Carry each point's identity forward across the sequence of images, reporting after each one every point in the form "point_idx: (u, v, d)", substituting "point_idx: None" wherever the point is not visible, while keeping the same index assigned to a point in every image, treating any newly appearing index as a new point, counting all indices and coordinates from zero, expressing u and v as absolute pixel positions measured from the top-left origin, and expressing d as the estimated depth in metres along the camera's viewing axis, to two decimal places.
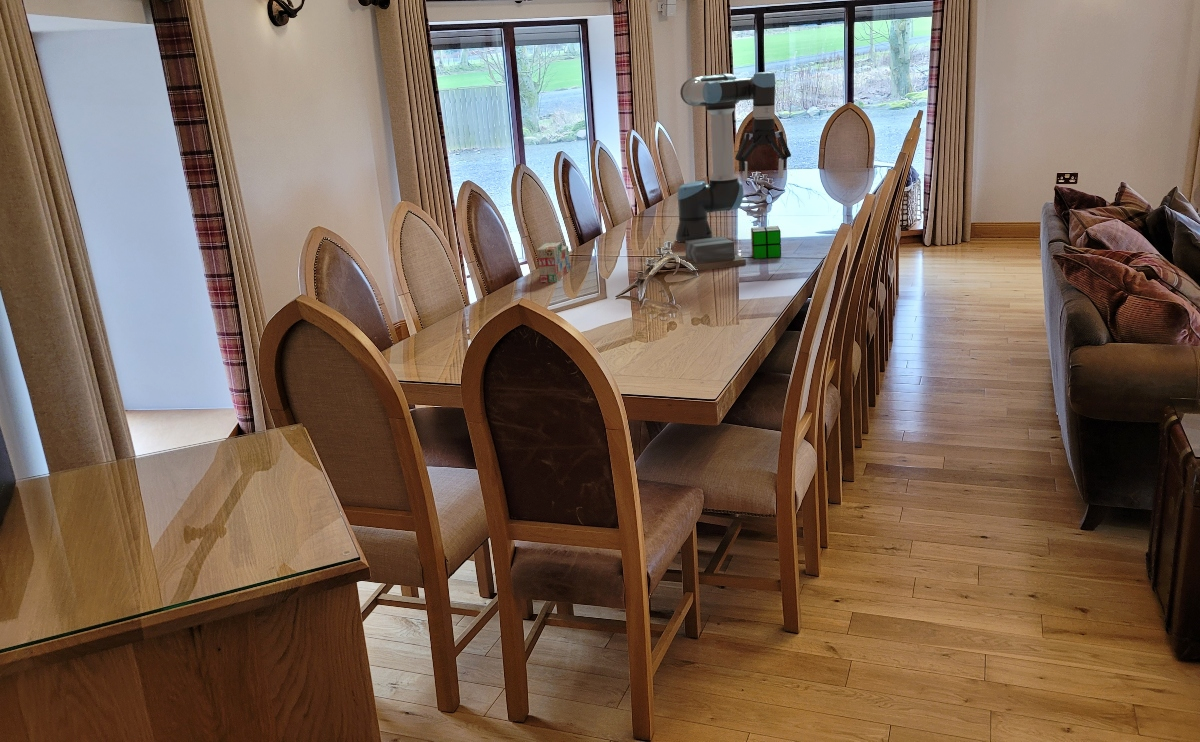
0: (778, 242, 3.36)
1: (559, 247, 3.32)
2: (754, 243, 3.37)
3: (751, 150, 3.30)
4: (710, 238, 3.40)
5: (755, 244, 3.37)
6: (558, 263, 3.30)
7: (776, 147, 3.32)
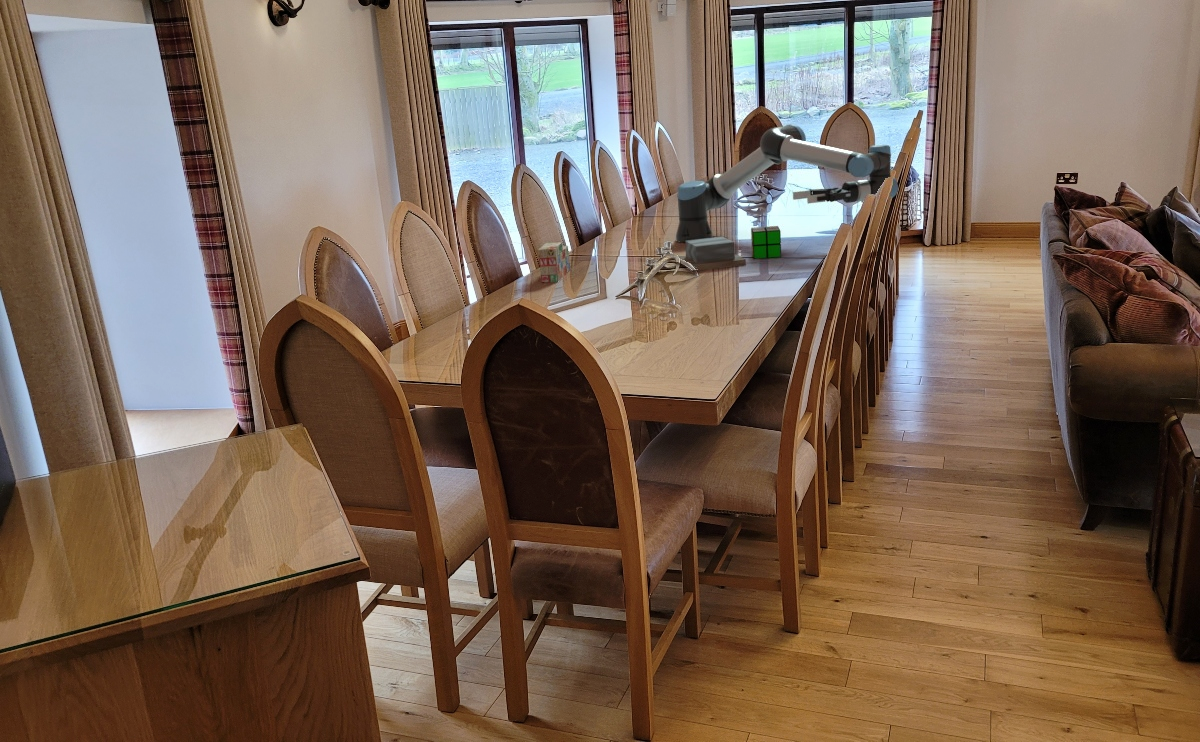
0: (778, 242, 3.36)
1: (560, 247, 3.32)
2: (754, 243, 3.37)
3: None
4: (710, 238, 3.40)
5: (755, 244, 3.37)
6: (559, 263, 3.30)
7: None
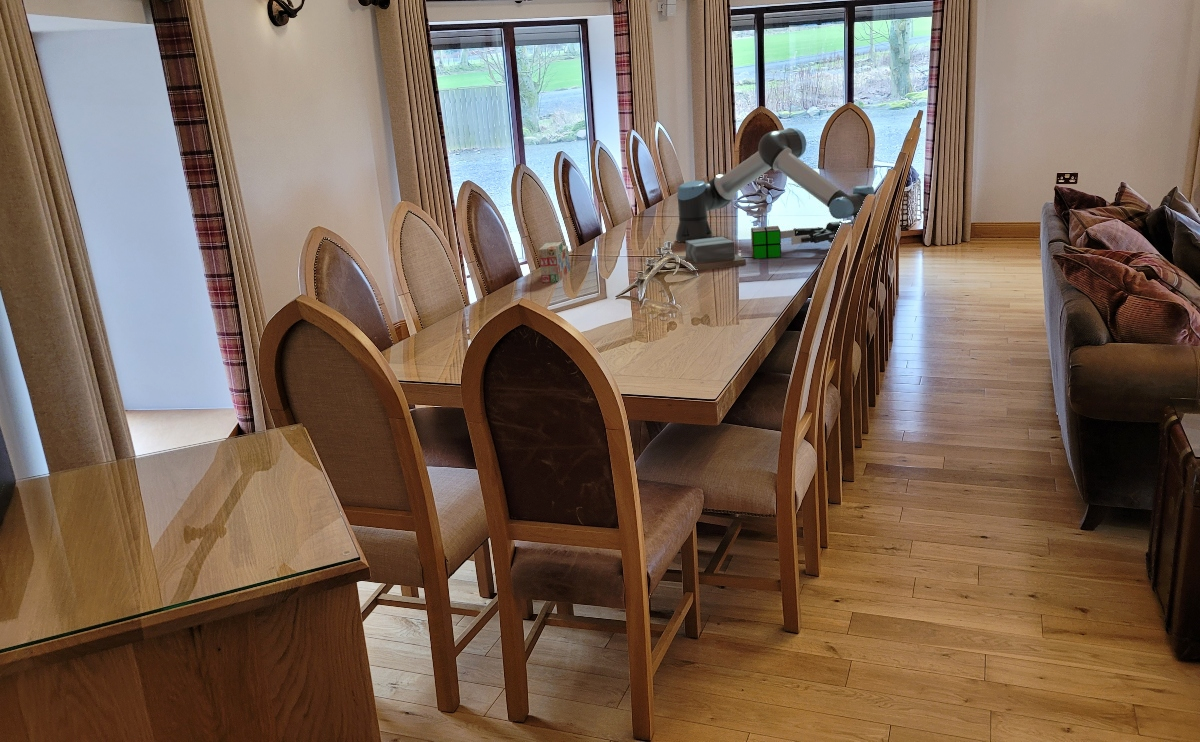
0: (778, 242, 3.36)
1: (560, 247, 3.32)
2: (754, 243, 3.37)
3: None
4: (710, 238, 3.40)
5: (755, 244, 3.37)
6: (559, 263, 3.30)
7: None
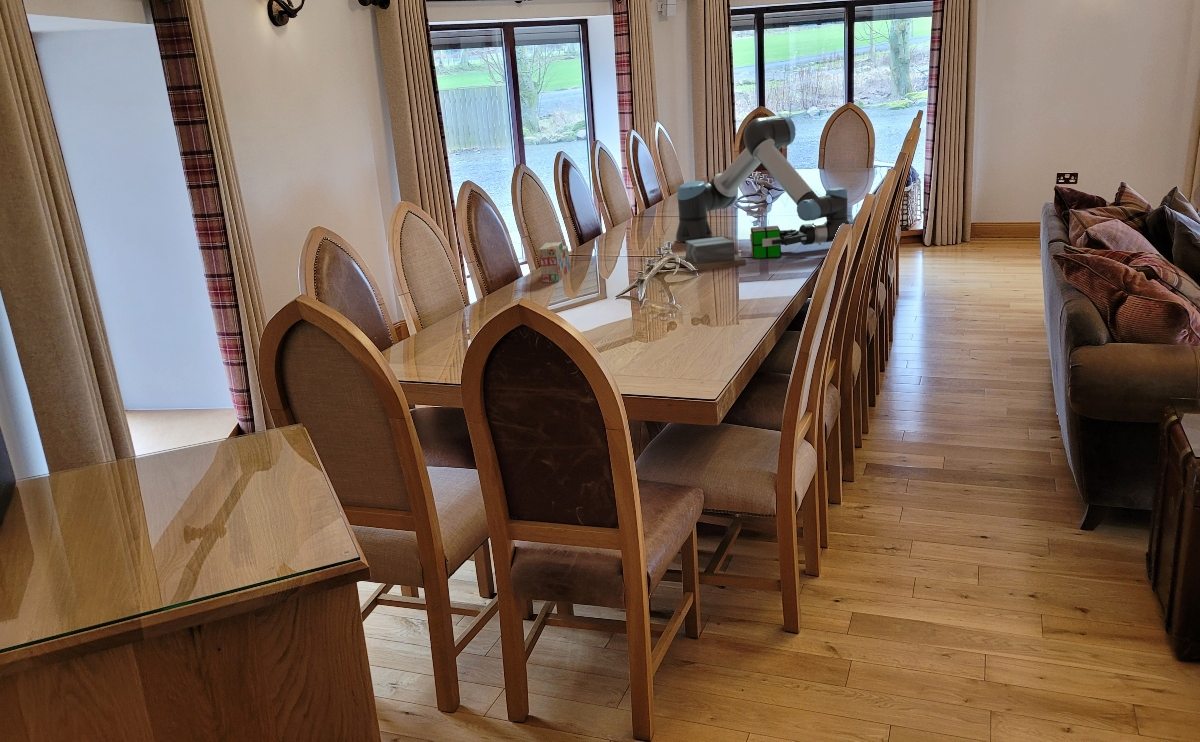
0: None
1: (560, 247, 3.33)
2: (754, 243, 3.37)
3: None
4: (710, 238, 3.40)
5: (755, 244, 3.37)
6: (560, 262, 3.31)
7: None
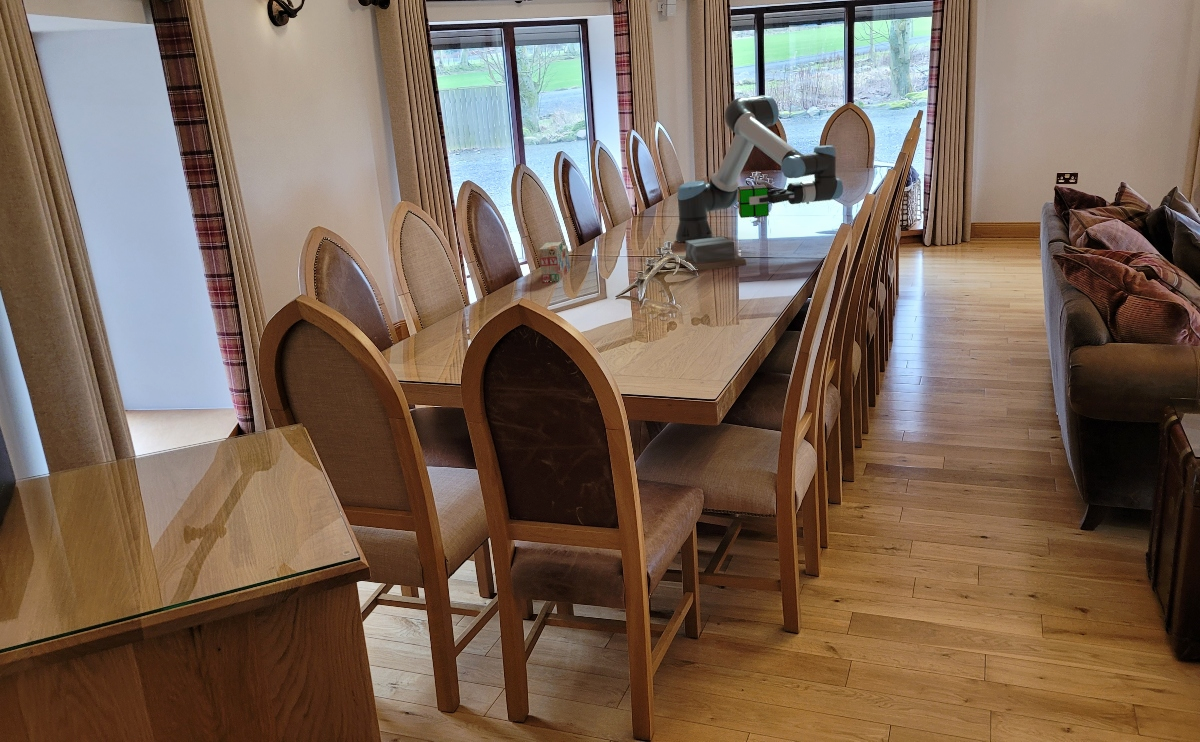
0: None
1: (560, 246, 3.33)
2: (741, 201, 3.29)
3: None
4: (710, 238, 3.40)
5: (742, 202, 3.30)
6: (560, 262, 3.31)
7: None
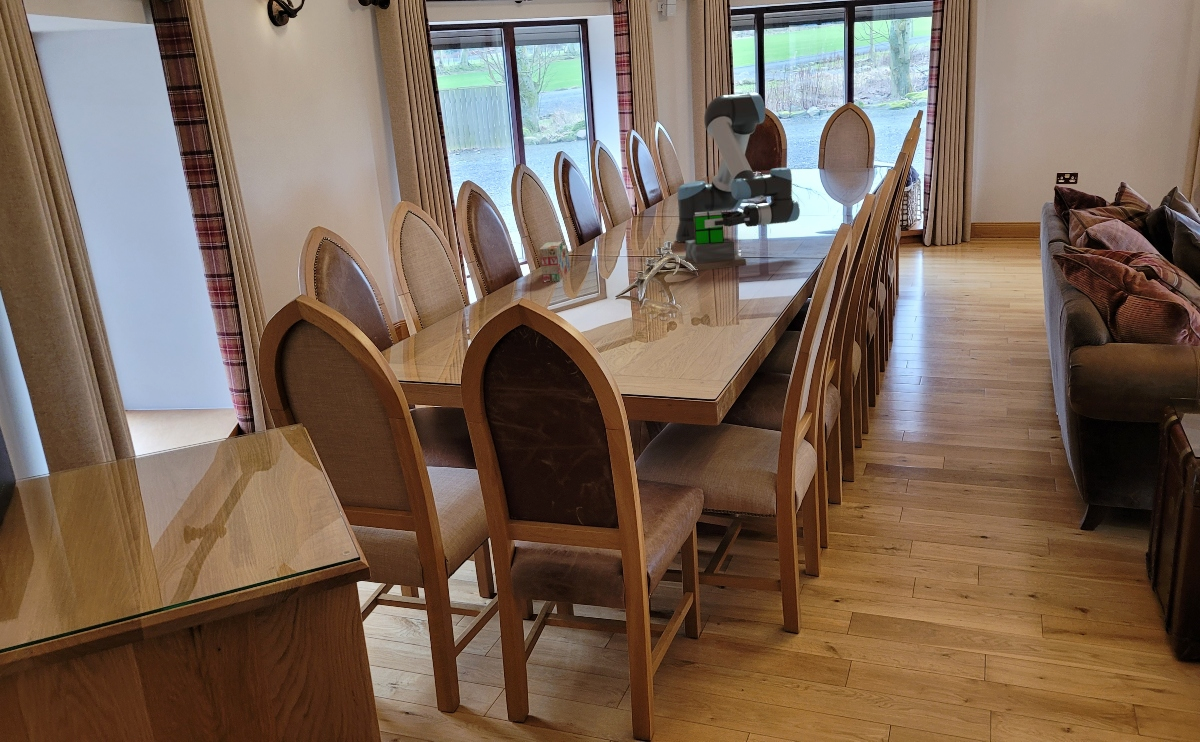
0: (720, 227, 3.28)
1: (560, 246, 3.33)
2: (696, 228, 3.29)
3: None
4: None
5: (697, 229, 3.29)
6: (560, 262, 3.31)
7: None
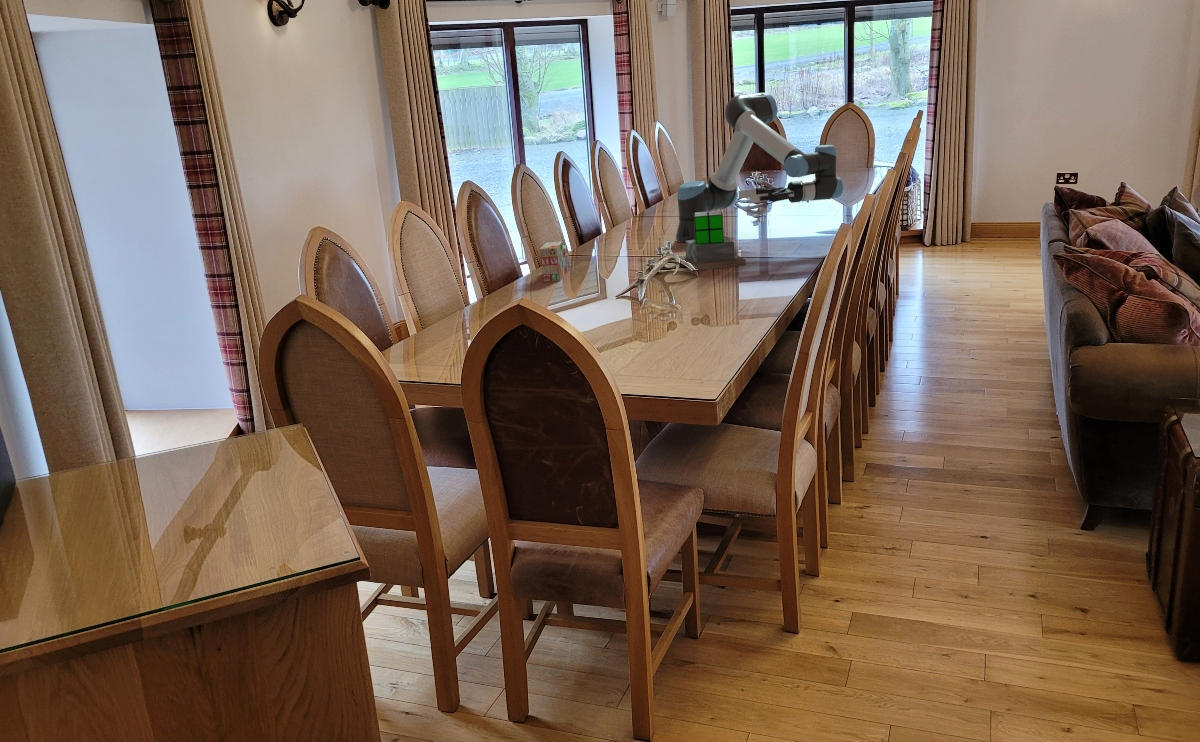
0: (720, 227, 3.28)
1: (561, 246, 3.34)
2: (696, 228, 3.29)
3: None
4: None
5: (697, 229, 3.29)
6: (560, 262, 3.31)
7: None
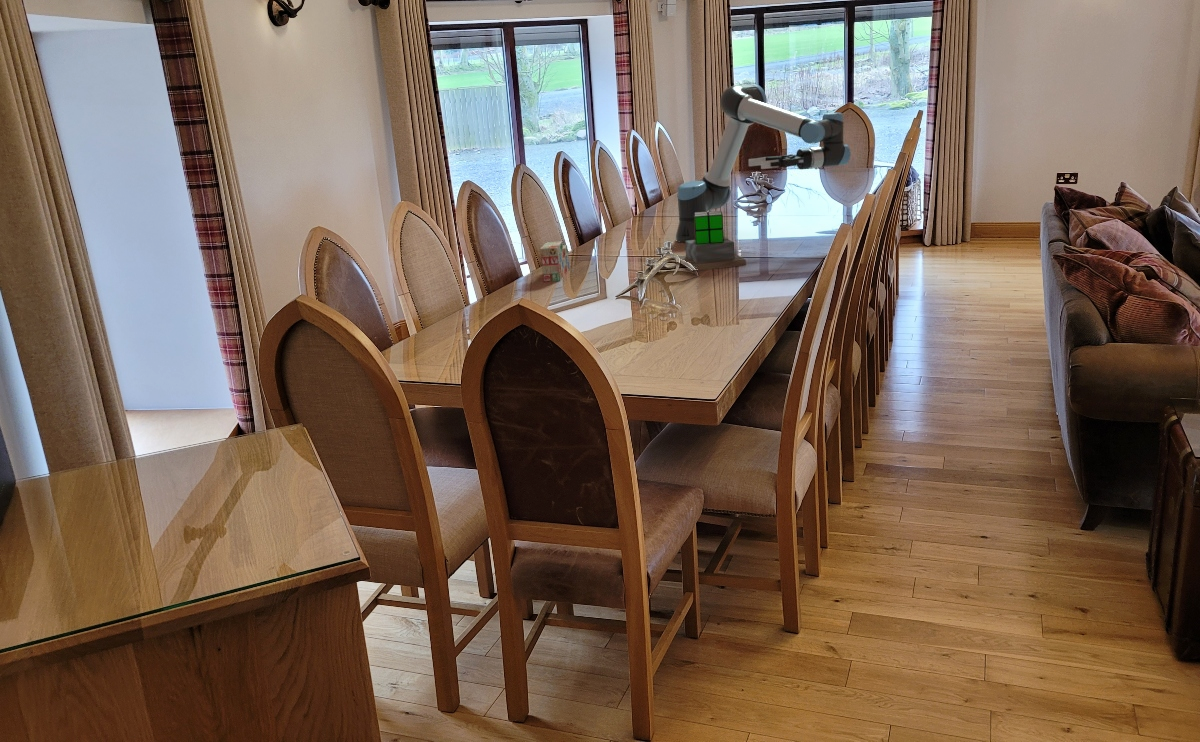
0: (720, 227, 3.28)
1: (561, 246, 3.34)
2: (696, 228, 3.29)
3: None
4: None
5: (697, 229, 3.29)
6: (560, 262, 3.32)
7: None
